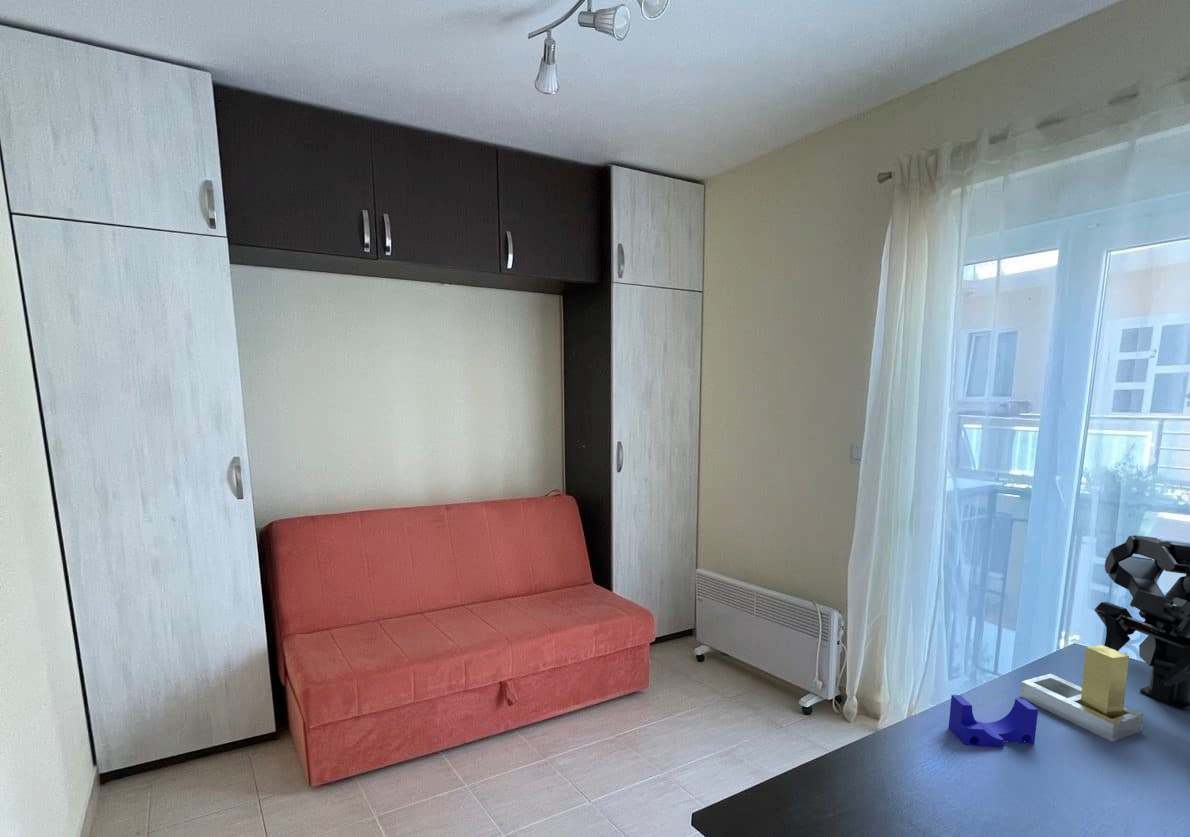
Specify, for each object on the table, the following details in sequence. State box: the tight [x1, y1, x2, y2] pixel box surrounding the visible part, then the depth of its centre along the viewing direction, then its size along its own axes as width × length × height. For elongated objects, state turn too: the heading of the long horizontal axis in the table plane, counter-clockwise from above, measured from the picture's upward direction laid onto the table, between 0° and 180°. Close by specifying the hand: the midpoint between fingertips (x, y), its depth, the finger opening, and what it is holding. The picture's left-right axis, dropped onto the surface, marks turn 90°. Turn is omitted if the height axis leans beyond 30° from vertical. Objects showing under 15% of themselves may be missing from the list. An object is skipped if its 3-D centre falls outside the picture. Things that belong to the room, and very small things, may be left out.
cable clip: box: [948, 694, 1039, 748], centre depth 92 cm, size 12×4×6 cm, turn 88°
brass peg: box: [1080, 644, 1130, 719], centre depth 98 cm, size 4×4×13 cm
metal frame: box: [1019, 673, 1144, 743], centre depth 101 cm, size 9×14×3 cm, turn 23°
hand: (1133, 670), depth 100 cm, fingers open, 9 cm apart
